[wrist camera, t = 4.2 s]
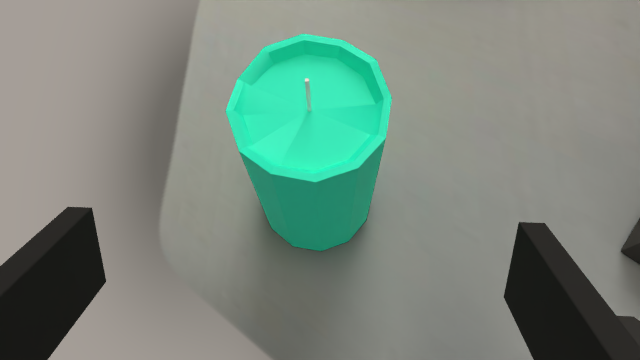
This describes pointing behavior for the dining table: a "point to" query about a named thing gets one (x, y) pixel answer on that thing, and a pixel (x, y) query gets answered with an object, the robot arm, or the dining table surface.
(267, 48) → the candle
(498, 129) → the dining table surface
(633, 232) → the scale
